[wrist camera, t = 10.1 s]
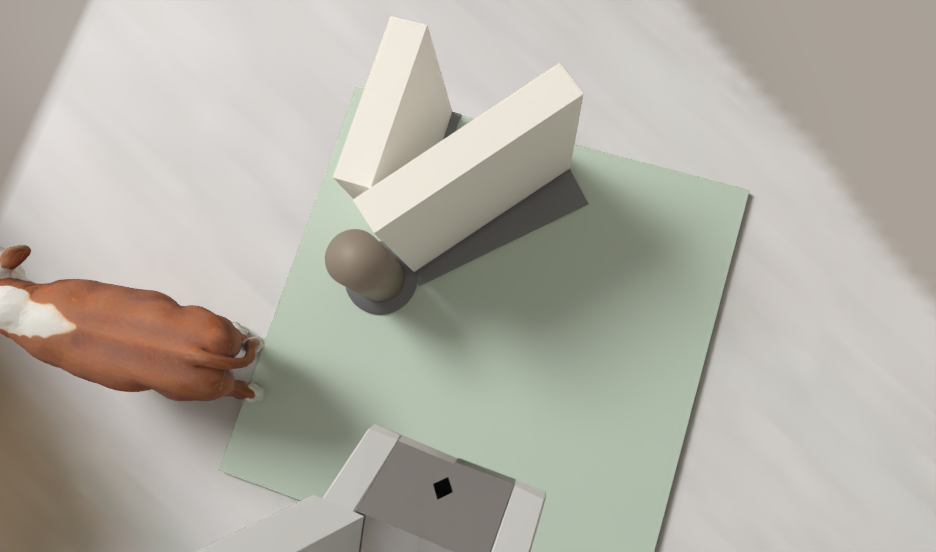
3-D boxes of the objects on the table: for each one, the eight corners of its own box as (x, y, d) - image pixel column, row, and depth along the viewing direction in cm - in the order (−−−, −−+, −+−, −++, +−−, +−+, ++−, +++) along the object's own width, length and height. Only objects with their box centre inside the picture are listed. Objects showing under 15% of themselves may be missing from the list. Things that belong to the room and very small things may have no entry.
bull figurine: (83, 259, 34) (-64, 212, 26) (311, 343, 31) (226, 319, 23) (46, 339, 33) (-116, 315, 25) (276, 431, 30) (177, 438, 22)
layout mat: (634, 620, 28) (635, 623, 27) (221, 469, 31) (217, 470, 30) (747, 192, 30) (750, 189, 30) (357, 89, 33) (355, 86, 33)
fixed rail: (396, 308, 31) (350, 282, 23) (350, 294, 31) (289, 263, 23) (461, 114, 32) (438, 27, 24) (416, 102, 33) (379, 13, 25)
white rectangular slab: (414, 272, 31) (373, 233, 23) (397, 246, 31) (352, 199, 23) (570, 168, 31) (583, 94, 23) (552, 144, 31) (559, 62, 23)
